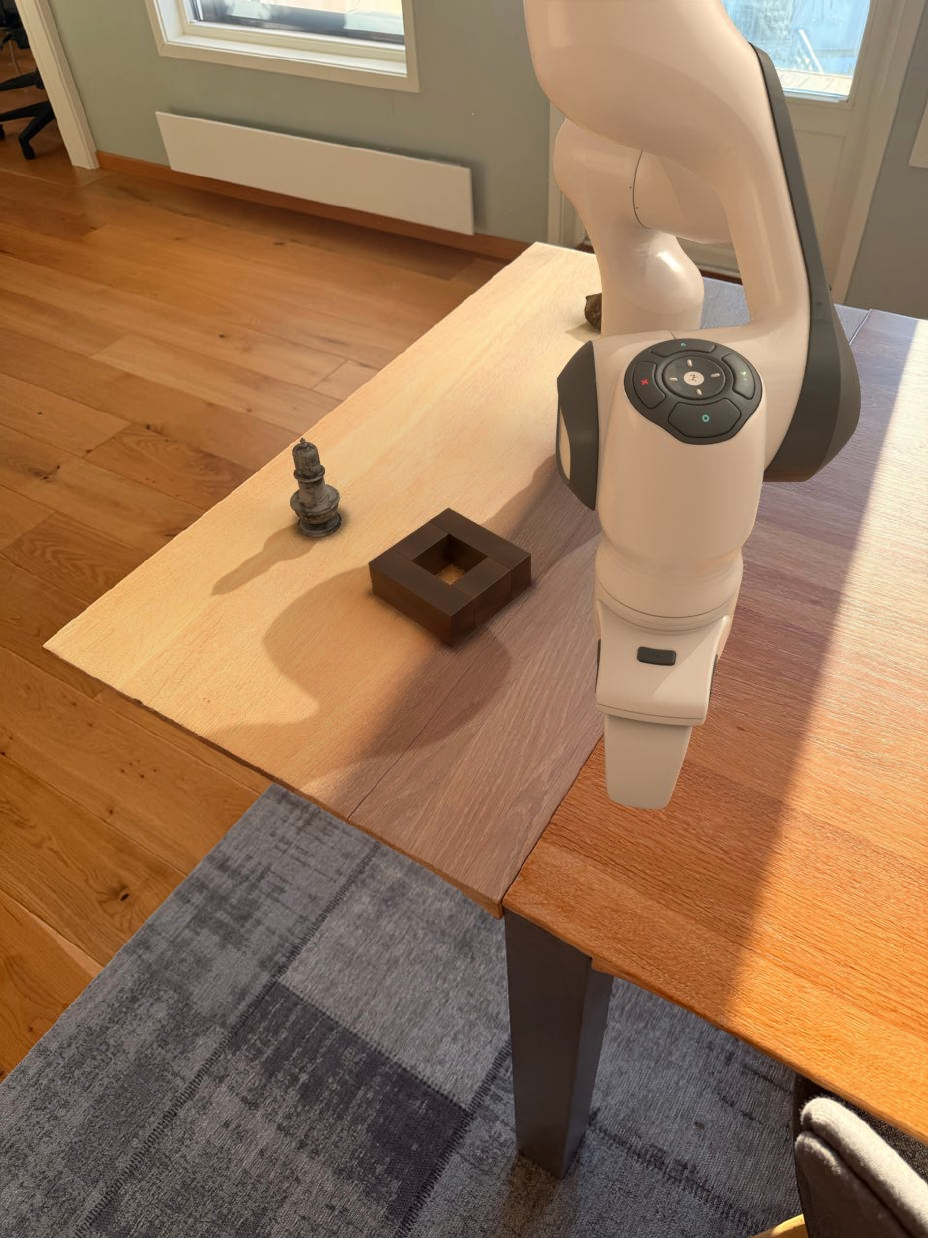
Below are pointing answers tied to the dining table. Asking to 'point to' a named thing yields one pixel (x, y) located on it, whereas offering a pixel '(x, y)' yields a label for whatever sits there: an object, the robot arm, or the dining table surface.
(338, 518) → the grey metal finial
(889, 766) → the dining table surface
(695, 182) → the robot arm
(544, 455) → the dining table surface
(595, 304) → the fossilized seashell
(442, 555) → the socket block
